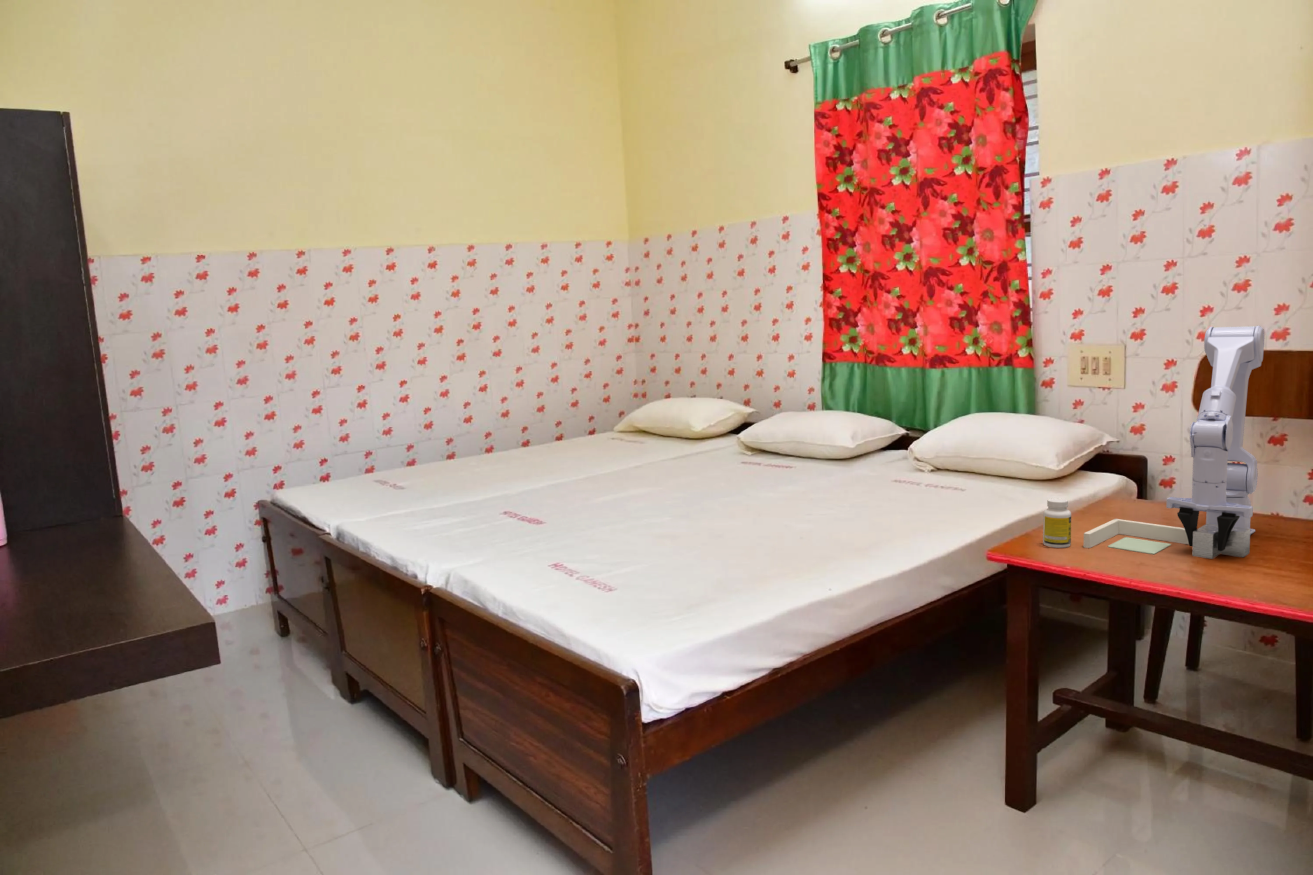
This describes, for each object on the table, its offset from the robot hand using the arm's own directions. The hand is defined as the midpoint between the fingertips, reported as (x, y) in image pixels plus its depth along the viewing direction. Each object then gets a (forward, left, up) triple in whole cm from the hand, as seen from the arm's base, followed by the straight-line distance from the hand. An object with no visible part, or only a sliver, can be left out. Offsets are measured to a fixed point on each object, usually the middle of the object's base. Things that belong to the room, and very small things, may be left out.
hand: (1206, 547), depth 174 cm
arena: (+2, -12, -1) cm, 12 cm away
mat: (+2, -12, -1) cm, 12 cm away
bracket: (-2, +2, -1) cm, 3 cm away
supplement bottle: (+10, -25, -2) cm, 27 cm away
